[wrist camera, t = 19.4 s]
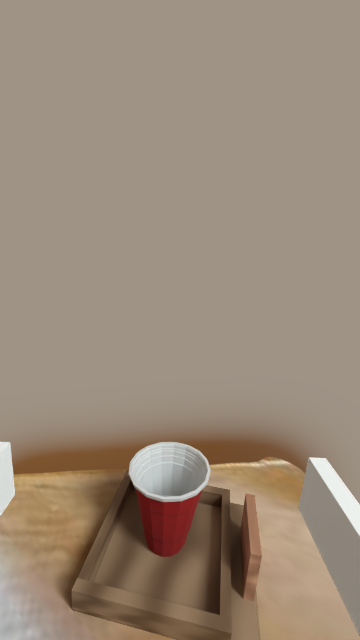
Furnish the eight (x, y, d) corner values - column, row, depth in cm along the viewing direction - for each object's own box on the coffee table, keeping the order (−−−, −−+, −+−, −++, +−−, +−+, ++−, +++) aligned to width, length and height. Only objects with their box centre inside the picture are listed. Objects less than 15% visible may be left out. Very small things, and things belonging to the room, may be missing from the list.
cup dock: (72, 610, 30) (70, 559, 28) (127, 484, 47) (128, 447, 45) (261, 663, 27) (272, 609, 25) (248, 508, 44) (254, 470, 42)
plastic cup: (189, 494, 45) (194, 432, 42) (215, 564, 35) (224, 489, 32) (123, 508, 42) (124, 442, 39) (131, 589, 32) (134, 508, 29)
